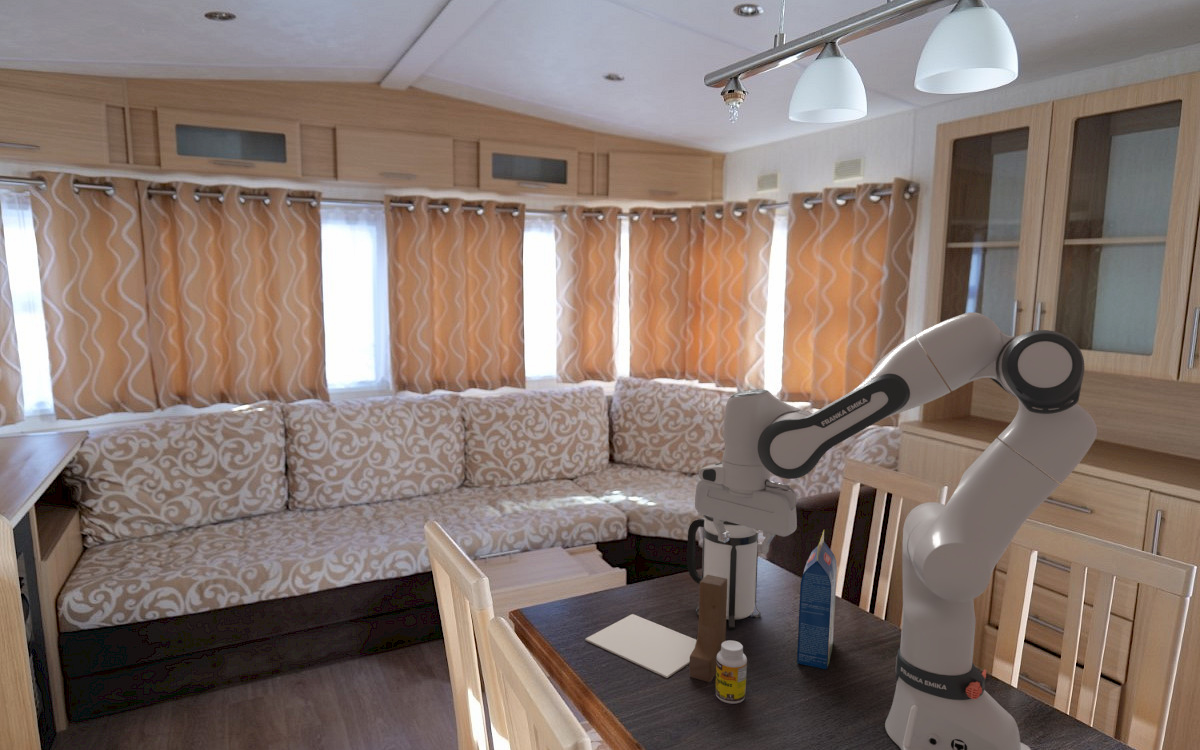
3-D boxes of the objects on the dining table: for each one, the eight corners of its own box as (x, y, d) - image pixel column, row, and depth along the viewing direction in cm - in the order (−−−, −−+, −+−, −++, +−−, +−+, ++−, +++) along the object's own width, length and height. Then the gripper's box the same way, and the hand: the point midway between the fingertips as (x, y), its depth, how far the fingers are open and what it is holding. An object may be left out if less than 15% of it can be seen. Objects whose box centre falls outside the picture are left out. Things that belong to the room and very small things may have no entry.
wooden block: (710, 683, 138) (712, 594, 136) (688, 677, 140) (690, 589, 138) (725, 662, 146) (728, 578, 144) (704, 656, 148) (706, 573, 146)
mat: (712, 648, 152) (712, 646, 152) (667, 678, 140) (667, 676, 140) (632, 615, 166) (632, 613, 166) (585, 640, 154) (585, 638, 154)
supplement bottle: (709, 694, 134) (710, 643, 133) (729, 685, 138) (731, 634, 136) (731, 709, 130) (733, 656, 129) (751, 698, 133) (753, 646, 132)
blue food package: (795, 663, 146) (801, 545, 143) (803, 637, 157) (808, 527, 154) (828, 670, 143) (834, 550, 140) (833, 643, 154) (839, 531, 151)
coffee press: (757, 601, 174) (762, 482, 170) (763, 633, 158) (768, 501, 155) (686, 597, 176) (689, 478, 173) (684, 627, 161) (687, 498, 157)
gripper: (805, 483, 129) (801, 556, 131) (709, 462, 143) (707, 529, 144) (788, 490, 124) (784, 566, 126) (691, 468, 138) (689, 537, 140)
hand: (742, 546), depth 135 cm, fingers open, 7 cm apart
